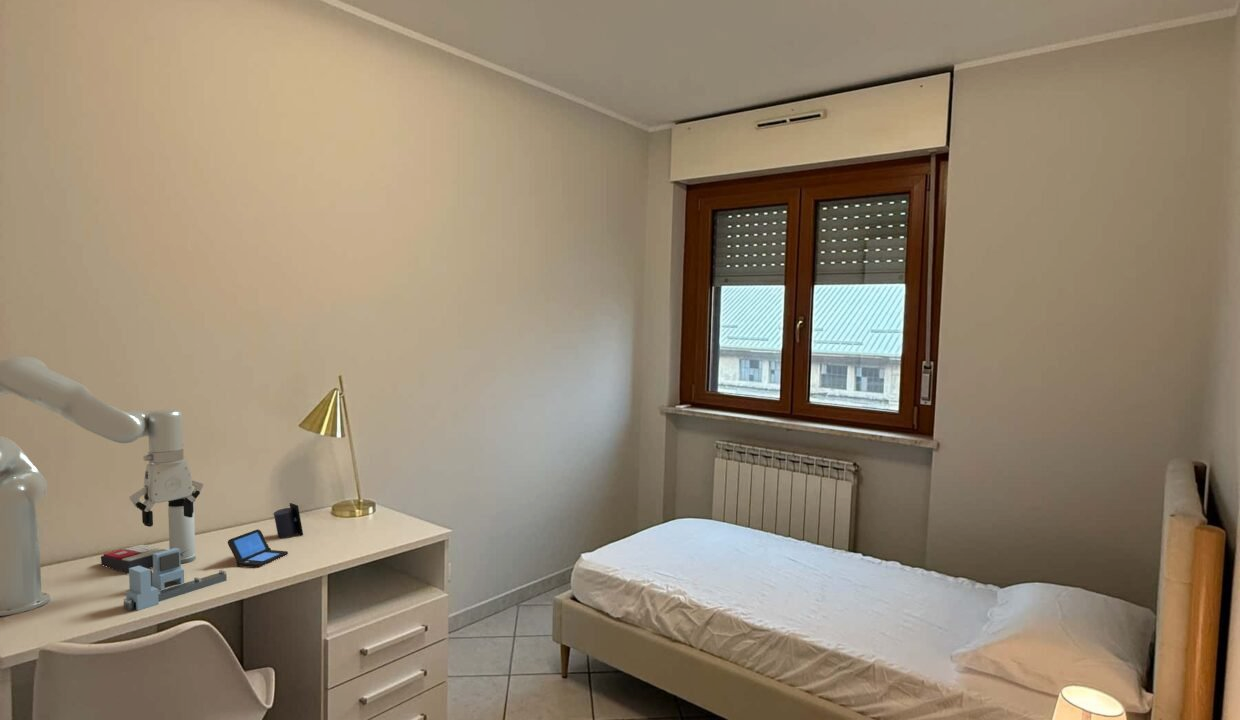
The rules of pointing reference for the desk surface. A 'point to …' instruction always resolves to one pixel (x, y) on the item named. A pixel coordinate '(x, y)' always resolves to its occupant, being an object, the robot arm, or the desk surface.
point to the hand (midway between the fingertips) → (168, 521)
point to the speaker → (288, 521)
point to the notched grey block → (167, 568)
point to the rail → (183, 588)
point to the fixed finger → (142, 588)
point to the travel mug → (181, 530)
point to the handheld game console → (253, 550)
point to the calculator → (130, 557)
